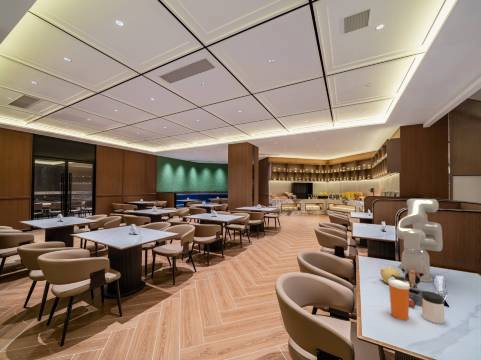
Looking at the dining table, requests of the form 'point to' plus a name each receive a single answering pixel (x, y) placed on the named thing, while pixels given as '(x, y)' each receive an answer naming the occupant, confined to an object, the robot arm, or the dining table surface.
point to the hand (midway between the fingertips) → (412, 281)
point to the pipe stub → (412, 278)
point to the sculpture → (389, 273)
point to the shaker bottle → (399, 296)
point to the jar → (432, 307)
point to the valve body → (415, 297)
